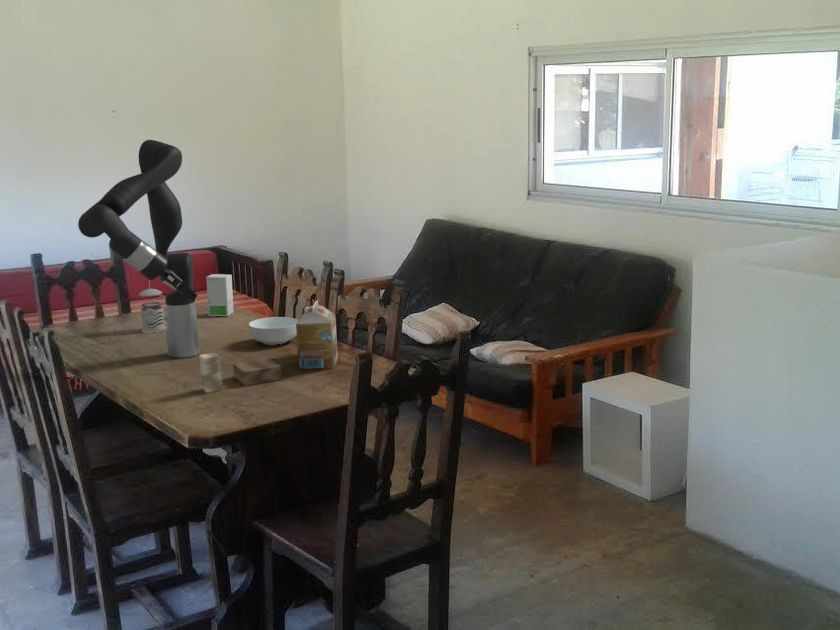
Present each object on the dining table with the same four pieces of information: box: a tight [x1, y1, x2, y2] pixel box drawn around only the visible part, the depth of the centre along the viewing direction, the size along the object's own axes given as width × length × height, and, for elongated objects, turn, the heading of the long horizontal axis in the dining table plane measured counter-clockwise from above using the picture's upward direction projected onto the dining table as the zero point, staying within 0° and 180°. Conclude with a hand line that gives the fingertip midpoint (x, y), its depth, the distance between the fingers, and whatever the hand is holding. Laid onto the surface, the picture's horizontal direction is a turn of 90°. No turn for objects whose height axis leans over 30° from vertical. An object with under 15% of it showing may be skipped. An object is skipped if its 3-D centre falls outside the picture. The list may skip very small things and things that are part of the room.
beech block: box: [198, 352, 224, 394], centre depth 265 cm, size 5×5×10 cm
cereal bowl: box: [248, 316, 299, 346], centre depth 316 cm, size 17×17×7 cm
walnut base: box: [232, 357, 282, 387], centre depth 275 cm, size 11×11×4 cm
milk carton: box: [296, 299, 339, 370], centre depth 286 cm, size 11×11×19 cm
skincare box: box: [205, 273, 235, 317], centre depth 361 cm, size 8×7×16 cm
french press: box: [138, 280, 167, 331], centre depth 340 cm, size 10×12×25 cm
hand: (191, 295), depth 264 cm, fingers open, 8 cm apart
